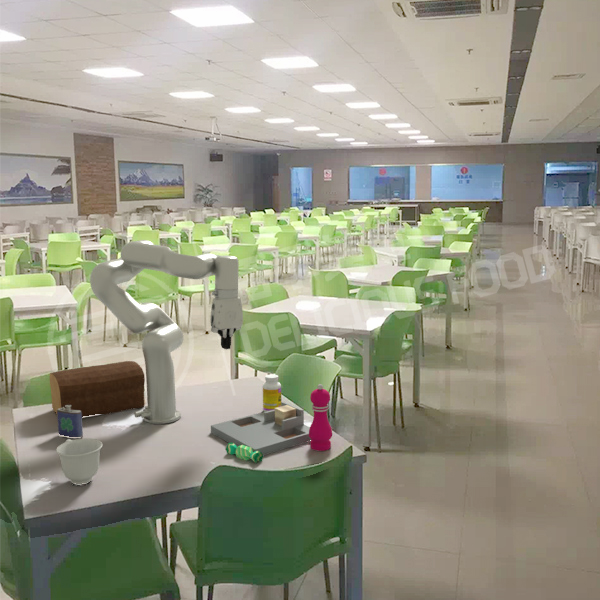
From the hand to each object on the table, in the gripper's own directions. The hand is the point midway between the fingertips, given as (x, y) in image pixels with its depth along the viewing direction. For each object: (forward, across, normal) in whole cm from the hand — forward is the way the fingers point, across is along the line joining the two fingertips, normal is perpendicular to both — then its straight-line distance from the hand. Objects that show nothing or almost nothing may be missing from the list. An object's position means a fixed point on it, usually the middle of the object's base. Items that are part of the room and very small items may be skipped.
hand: (225, 348), depth 222 cm
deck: (+26, +5, -17) cm, 31 cm away
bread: (+29, -29, +41) cm, 58 cm away
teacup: (+28, -54, -15) cm, 62 cm away
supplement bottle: (+26, +20, +1) cm, 33 cm away
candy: (+26, -9, -29) cm, 40 cm away
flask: (+28, -46, +20) cm, 57 cm away
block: (+23, +13, -18) cm, 31 cm away
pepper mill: (+25, +13, -36) cm, 46 cm away
